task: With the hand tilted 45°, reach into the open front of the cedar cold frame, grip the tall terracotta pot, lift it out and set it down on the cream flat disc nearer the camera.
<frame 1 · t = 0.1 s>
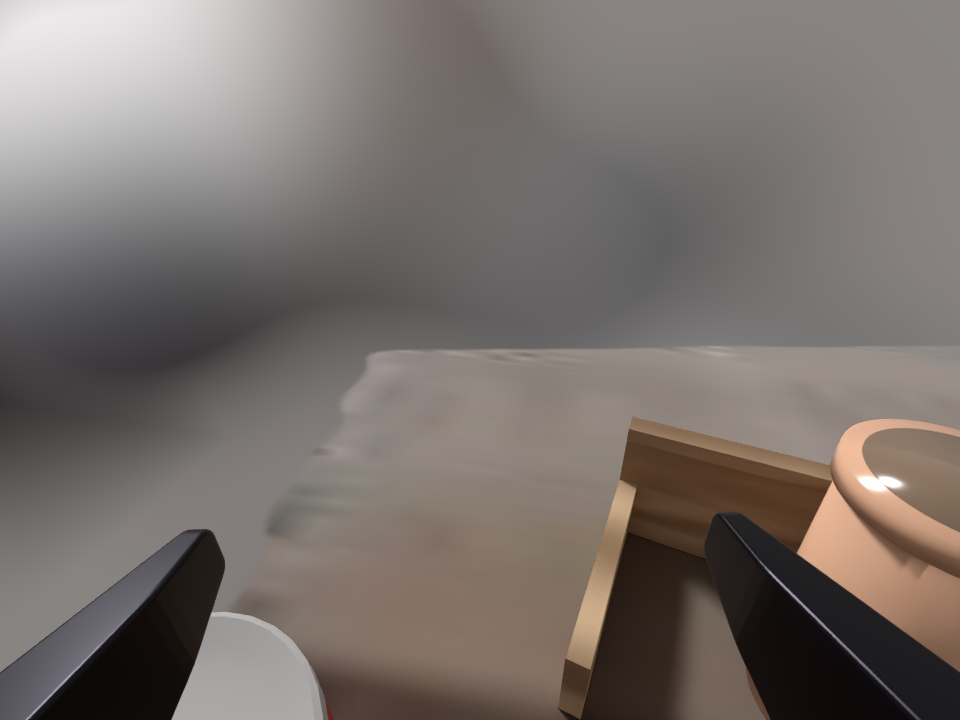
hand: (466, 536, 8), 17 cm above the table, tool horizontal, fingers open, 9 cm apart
terracotta pot: (821, 697, 21), on the table
cold frame: (821, 697, 21), on the table
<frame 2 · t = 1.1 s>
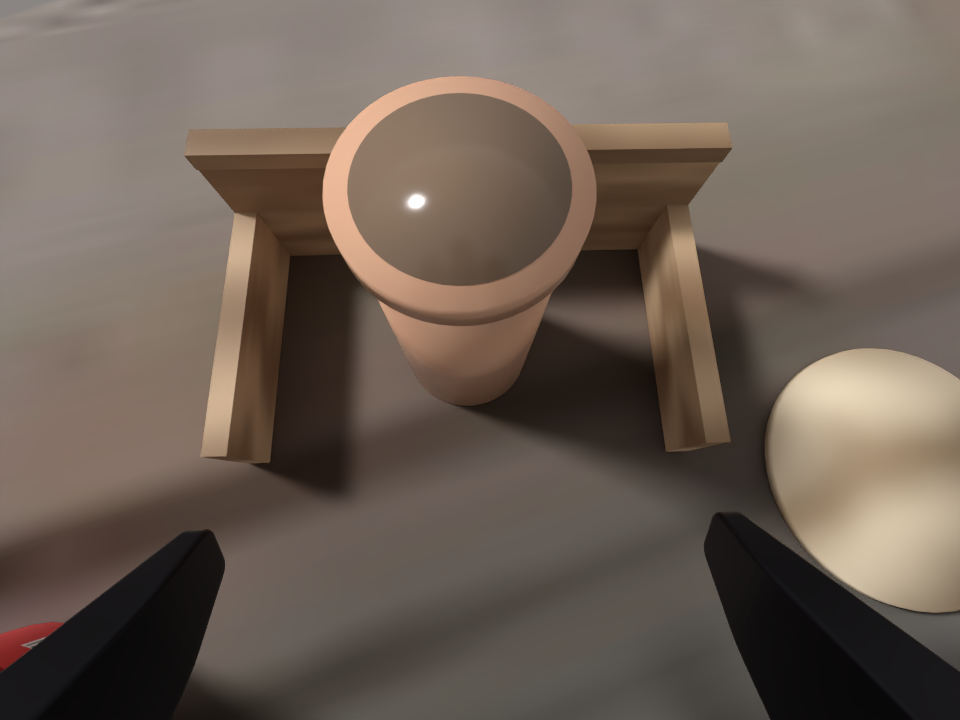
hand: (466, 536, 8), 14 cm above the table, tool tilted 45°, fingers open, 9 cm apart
terracotta pot: (467, 348, 24), on the table
canned food: (55, 717, 19), on the table
cream flat disc: (889, 470, 22), on the table
cold frame: (467, 348, 24), on the table
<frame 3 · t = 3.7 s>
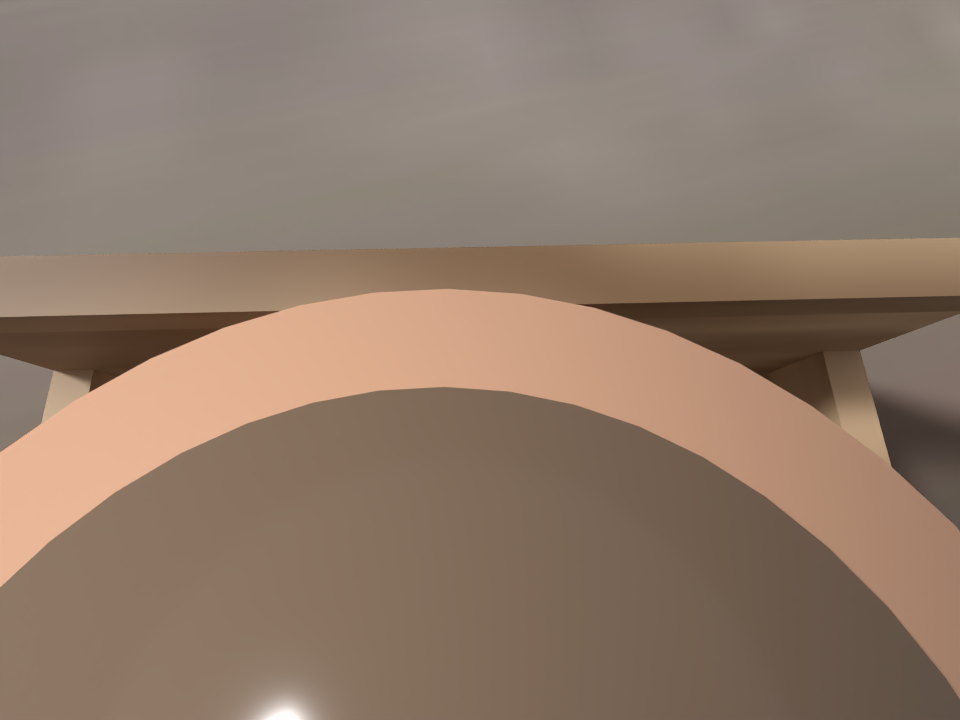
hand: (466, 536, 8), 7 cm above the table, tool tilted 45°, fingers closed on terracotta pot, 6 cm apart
terracotta pot: (470, 565, 14), on the table, touching gripper
cold frame: (470, 565, 14), on the table
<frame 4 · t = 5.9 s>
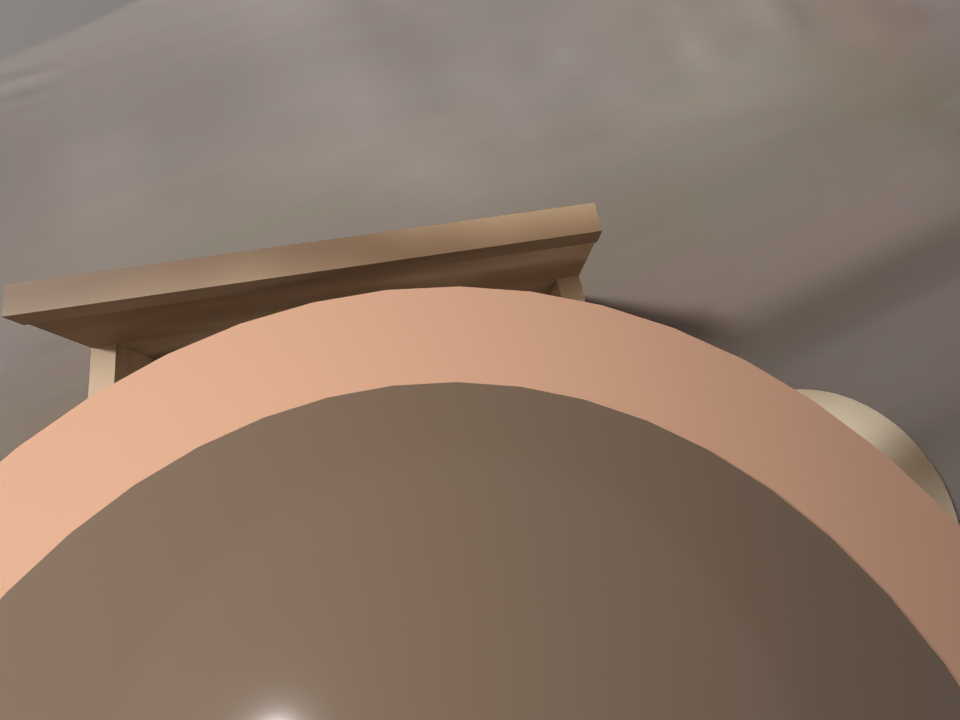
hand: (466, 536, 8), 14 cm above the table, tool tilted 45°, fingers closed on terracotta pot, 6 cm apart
terracotta pot: (469, 564, 14), point 7 cm above the table, touching gripper
cream flat disc: (818, 516, 22), on the table
cold frame: (374, 446, 22), on the table
when the fingers open (8 cm above the table, at t = 8.3 s): terracotta pot stays where it is, resting on cream flat disc.
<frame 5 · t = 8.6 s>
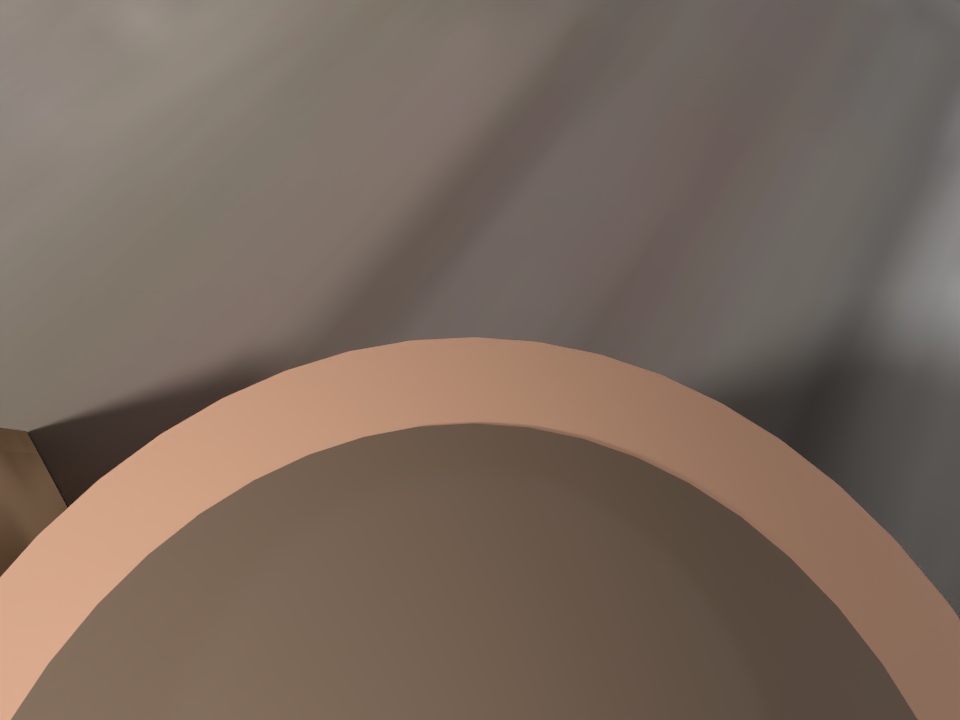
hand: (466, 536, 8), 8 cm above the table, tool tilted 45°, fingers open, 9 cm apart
terracotta pot: (470, 565, 15), point 1 cm above the table, touching cream flat disc
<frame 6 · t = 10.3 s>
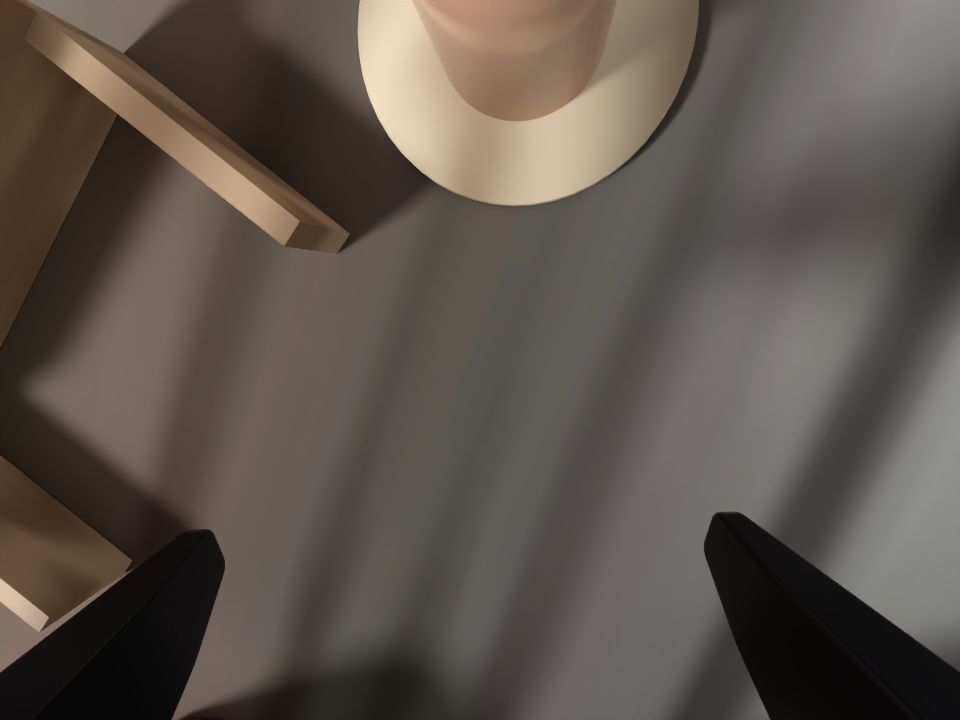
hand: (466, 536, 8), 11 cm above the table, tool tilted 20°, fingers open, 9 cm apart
terracotta pot: (521, 30, 16), point 1 cm above the table, touching cream flat disc
cream flat disc: (520, 36, 17), on the table
cold frame: (131, 347, 21), on the table
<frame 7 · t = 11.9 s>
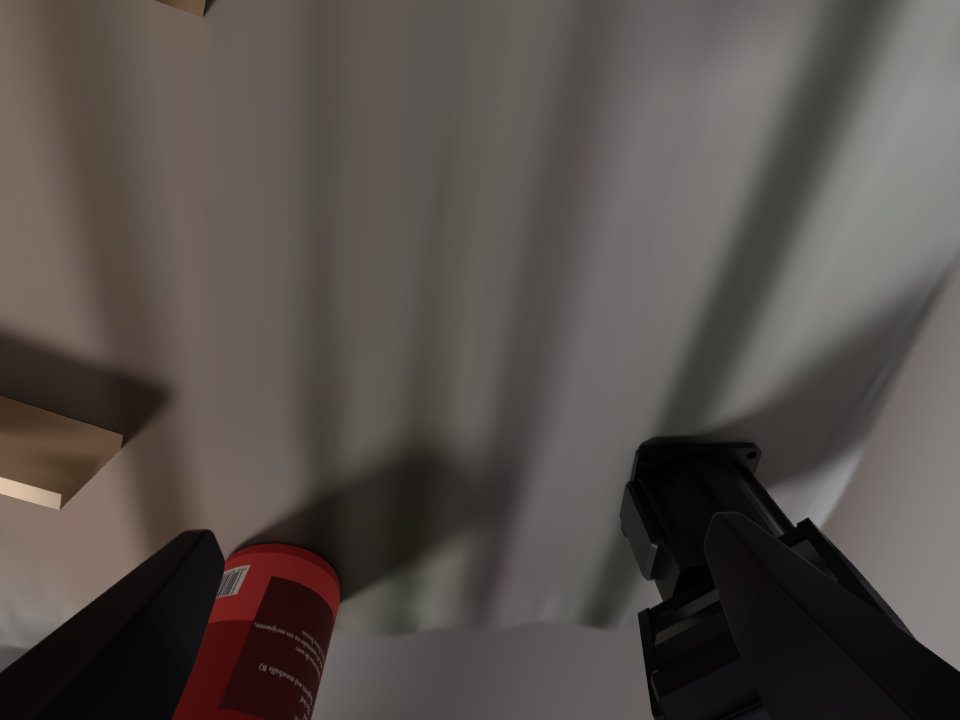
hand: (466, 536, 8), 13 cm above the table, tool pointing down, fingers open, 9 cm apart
canned food: (281, 579, 29), on the table
cold frame: (1, 206, 18), on the table
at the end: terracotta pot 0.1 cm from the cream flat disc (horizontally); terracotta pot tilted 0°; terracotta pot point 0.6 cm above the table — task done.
